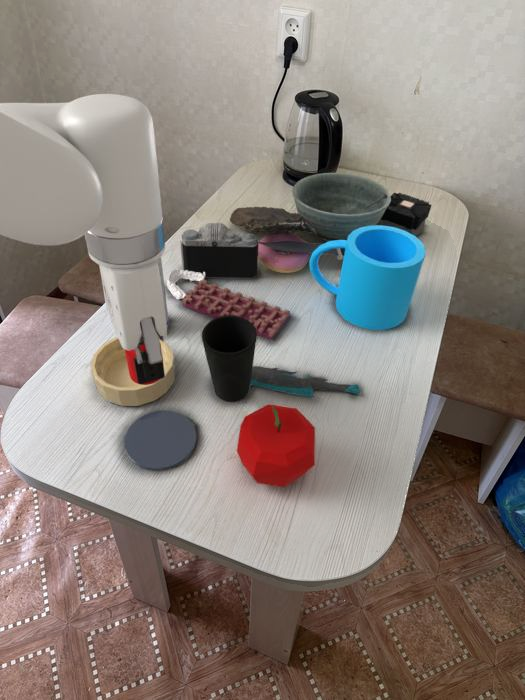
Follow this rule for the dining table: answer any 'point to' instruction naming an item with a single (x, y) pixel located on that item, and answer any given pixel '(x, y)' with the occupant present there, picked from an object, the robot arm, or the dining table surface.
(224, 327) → the cup
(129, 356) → the red cylinder
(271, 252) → the doughnut
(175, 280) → the false teeth
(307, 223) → the rock
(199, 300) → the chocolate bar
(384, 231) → the mug
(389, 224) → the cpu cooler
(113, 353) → the serving bowl
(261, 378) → the knife
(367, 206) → the screw
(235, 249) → the camera
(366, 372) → the dining table surface
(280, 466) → the apple
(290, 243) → the knife
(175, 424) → the dark grey coaster
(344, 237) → the bowl
